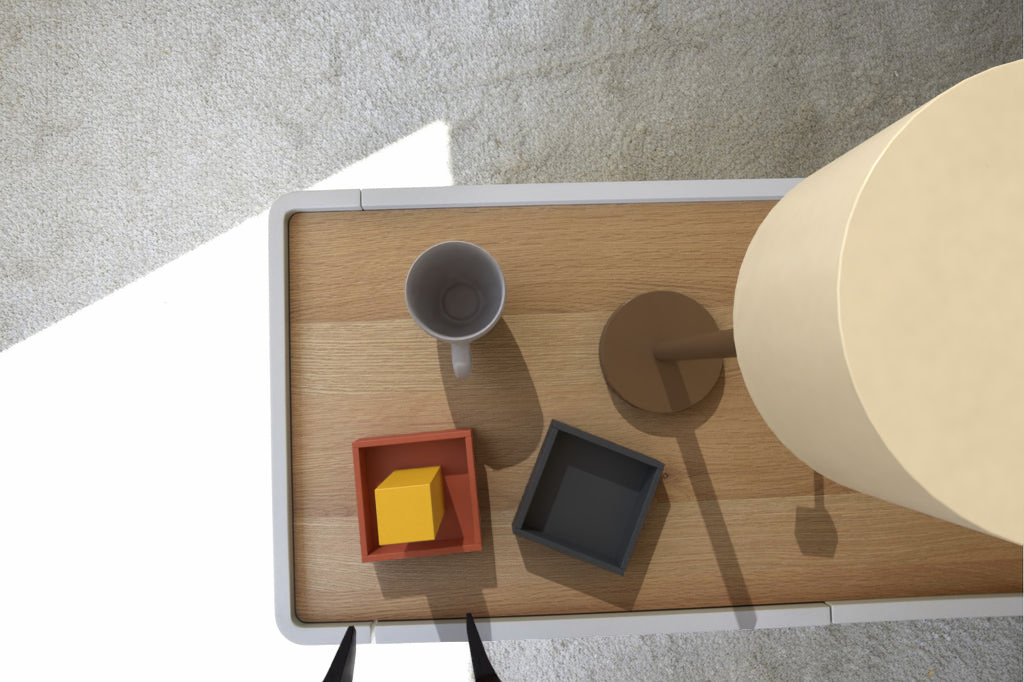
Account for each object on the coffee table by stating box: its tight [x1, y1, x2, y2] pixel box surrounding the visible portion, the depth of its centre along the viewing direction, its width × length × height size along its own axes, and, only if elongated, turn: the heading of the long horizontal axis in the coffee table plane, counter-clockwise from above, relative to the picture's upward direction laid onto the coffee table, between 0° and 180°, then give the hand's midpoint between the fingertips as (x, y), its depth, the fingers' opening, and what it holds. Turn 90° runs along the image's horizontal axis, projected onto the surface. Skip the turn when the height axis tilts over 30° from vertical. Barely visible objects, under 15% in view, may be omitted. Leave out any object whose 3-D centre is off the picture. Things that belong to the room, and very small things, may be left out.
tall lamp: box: [598, 58, 1024, 547], centre depth 42 cm, size 14×14×48 cm
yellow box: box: [375, 465, 445, 545], centre depth 59 cm, size 4×4×11 cm
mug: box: [404, 240, 508, 380], centre depth 61 cm, size 12×9×10 cm
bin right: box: [511, 418, 666, 577], centre depth 63 cm, size 11×11×4 cm
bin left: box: [351, 426, 484, 564], centre depth 63 cm, size 11×11×4 cm
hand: (411, 621), depth 52 cm, fingers open, 9 cm apart
